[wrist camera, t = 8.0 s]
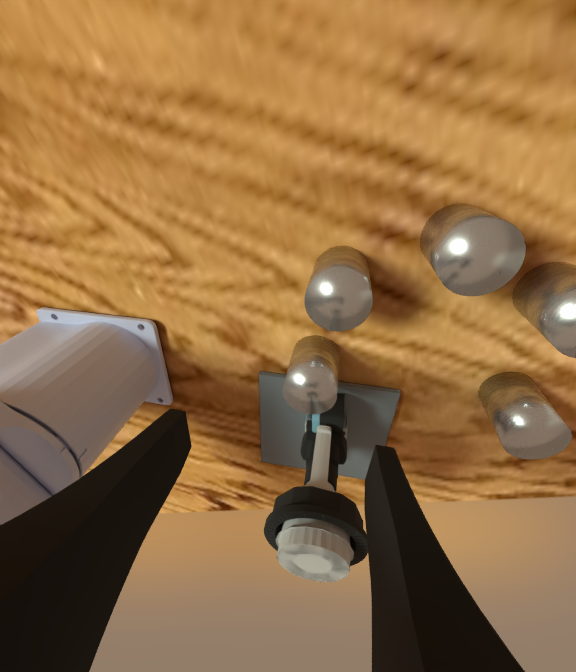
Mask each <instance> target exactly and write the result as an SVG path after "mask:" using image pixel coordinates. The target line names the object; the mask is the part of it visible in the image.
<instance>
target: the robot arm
mask: <svg viewBox="0 0 576 672" xmlns="http://www.w3.org/2000/svg"><path fill="white" fill-rule="evenodd" d="M37 315H38V318H39V320H40V322H39V323H37V324H35V325H33V326H32V327H30V328H28V329H26V330H24V331H23V332H21V333H19V334H17V335H16V336H14V337H12V338H10V339H8V340H7V341H5V342H3V343H1V344H0V672H89V670H90V668H91V665H92V662H93V660H94V657H95V654H96V652H97V649H98V647H99V644H100V641H101V639H102V636H103V634H104V631H105V629H106V626H107V624H108V621H109V619H110V616H111V614H112V611H113V609H114V606H115V604H116V602H117V599H118V597H119V595H120V592H121V590H122V587H123V585H124V583H125V580H126V578H127V576H128V573H129V571H130V569H131V567H132V564H133V562H134V560H135V558H136V555H137V553H138V551H139V549H140V547H141V544H142V542H143V540H144V539H145V537H146V535H147V533H148V531H149V529H150V527H151V525H152V523H153V522H154V520H155V518H156V516H157V514H158V513H159V511H160V509H161V507H162V506H163V504H164V502H165V500H166V498H167V497H168V495H169V493H170V491H171V489H172V487H173V486H174V484H175V482H176V480H177V478H178V477H179V475H180V473H181V471H182V468H183V466H184V464H185V461H186V459H187V456H188V454H189V451H190V449H191V441H190V435H189V429H188V424H187V418H186V412H185V411H182V410H176V409H169V410H168V411H167V412H165V413H164V414H163V415H162V416H161V417H159V418H158V419H157V420H156V421H154V422H153V423H152V424H151V425H150V426H148V427H147V428H146V429H145V430H144V431H142V432H141V433H140V434H139V435H137V436H136V437H135V438H134V439H132V440H131V441H130V442H129V443H127V444H126V445H125V446H123V447H122V448H121V449H120V450H118V451H117V452H116V453H114V454H113V455H112V456H110V457H109V458H108V459H106V460H105V461H104V462H102V463H101V464H99V465H98V466H97V467H95V468H94V469H93V470H91V471H90V472H88V473H87V474H85V473H86V471H87V470H88V469H89V468H90V467H91V465H92V464H93V463H94V462H95V460H96V459H97V458H98V457H99V456H100V454H101V453H102V452H103V451H104V449H105V448H106V447H107V446H108V445H109V443H110V442H111V441H112V440H113V438H114V437H115V436H116V435H117V434H118V432H119V431H120V430H121V429H122V428H123V426H124V425H125V424H126V423H127V421H128V420H129V419H130V418H131V417H132V415H133V414H134V413H135V412H136V410H137V409H138V408H139V407H140V406H141V404H142V403H143V402H149V403H156V404H162V405H171V403H172V402H173V396H172V392H171V387H170V383H169V378H168V374H167V370H166V365H165V361H164V356H163V352H162V348H161V343H160V339H159V334H158V330H157V326H156V324H155V323H154V322H153V321H152V320H148V319H139V318H131V317H122V316H113V315H105V314H96V313H88V312H79V311H70V310H62V309H53V308H44V307H43V308H40V309H38V310H37ZM141 324H142V325H143V326H144V327H142V326H141ZM84 474H85V475H84ZM83 475H84V476H83ZM365 520H366V532H367V543H368V554H369V566H370V577H371V593H372V672H525V671H524V670H523V669H522V667H521V666H520V665H519V663H518V662H517V661H516V659H515V658H514V657H513V655H512V654H511V652H510V651H509V650H508V648H507V647H506V645H505V644H504V642H503V641H502V640H501V638H500V637H499V635H498V634H497V633H496V631H495V630H494V628H493V627H492V625H491V624H490V623H489V621H488V620H487V618H486V617H485V616H484V614H483V613H482V611H481V610H480V608H479V607H478V605H477V604H476V602H475V601H474V599H473V598H472V596H471V595H470V593H469V592H468V590H467V589H466V587H465V585H464V584H463V582H462V581H461V579H460V578H459V576H458V574H457V573H456V571H455V569H454V568H453V566H452V565H451V563H450V561H449V560H448V558H447V556H446V554H445V553H444V551H443V549H442V548H441V546H440V544H439V542H438V540H437V538H436V537H435V535H434V533H433V531H432V529H431V527H430V526H429V524H428V522H427V520H426V518H425V516H424V514H423V512H422V510H421V508H420V506H419V504H418V502H417V500H416V498H415V496H414V493H413V491H412V489H411V487H410V485H409V482H408V480H407V478H406V476H405V473H404V471H403V469H402V466H401V464H400V461H399V459H398V456H397V453H396V450H395V449H394V448H392V447H387V446H381V445H375V448H374V451H373V455H372V458H371V461H370V465H369V468H368V471H367V475H366V478H365Z"/></svg>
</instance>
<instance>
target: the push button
mask: <svg viewBox="0 0 576 672" xmlns="http://www.w3.org/2000/svg"><path fill="white" fill-rule="evenodd" d="M344 401H345V394H337V400H336V402H335V404H334V406H333V407H332V408H331V409H329V410H328V411H326V412H323V413H320V414H312V420H309V414H307V415H306V420H305V433H304V435H303V439H302V444H301V456H302V458H303V460H306V476H305V482H304V486H301V487H294V488H292V489H290V490H289V491H287V492H285V493H284V494H282V495H280V496H278V497H277V498H276V500H275V505H274V509H273V512H272V513H270V515H269V516H268V517H267V519H266V523H265V527H264V534H265V537H266V539H267V541H268V542H269V544H270V545H271V546H272V547H273V548H274V549H275V550H277V551H278V553H277V559H278V561H279V563H280V564H281V566H282V567H284V568H285V569H287V570H288V571H289V572H291V573H293V574H295V575H297V576H300V577H302V578H305V579H310V580H313V581H320V582H324V581H327V582H331V581H337V580H339V579H343V578H345V577H346V576H347V574H348V573H349V571H350V566H352V565H354V564H357V563H359V562H360V561H362V560H363V559H364V558H365V557H366V555H367V553H368V543H367V535H366V533H365V531H364V529H363V520H362V518H361V516H360V513H359V511H358V509H357V506H356V504H355V503H354V502H353V501H351V500H350V499H348V498H347V497H345V496H344V495H342V494H340V493H337V492H336V487H337V478H338V464H340V465H341V464H342V465H343V464H344V463H345V462H346V459H347V440H346V439H347V420H348V415H346V427H343V426H344Z"/></svg>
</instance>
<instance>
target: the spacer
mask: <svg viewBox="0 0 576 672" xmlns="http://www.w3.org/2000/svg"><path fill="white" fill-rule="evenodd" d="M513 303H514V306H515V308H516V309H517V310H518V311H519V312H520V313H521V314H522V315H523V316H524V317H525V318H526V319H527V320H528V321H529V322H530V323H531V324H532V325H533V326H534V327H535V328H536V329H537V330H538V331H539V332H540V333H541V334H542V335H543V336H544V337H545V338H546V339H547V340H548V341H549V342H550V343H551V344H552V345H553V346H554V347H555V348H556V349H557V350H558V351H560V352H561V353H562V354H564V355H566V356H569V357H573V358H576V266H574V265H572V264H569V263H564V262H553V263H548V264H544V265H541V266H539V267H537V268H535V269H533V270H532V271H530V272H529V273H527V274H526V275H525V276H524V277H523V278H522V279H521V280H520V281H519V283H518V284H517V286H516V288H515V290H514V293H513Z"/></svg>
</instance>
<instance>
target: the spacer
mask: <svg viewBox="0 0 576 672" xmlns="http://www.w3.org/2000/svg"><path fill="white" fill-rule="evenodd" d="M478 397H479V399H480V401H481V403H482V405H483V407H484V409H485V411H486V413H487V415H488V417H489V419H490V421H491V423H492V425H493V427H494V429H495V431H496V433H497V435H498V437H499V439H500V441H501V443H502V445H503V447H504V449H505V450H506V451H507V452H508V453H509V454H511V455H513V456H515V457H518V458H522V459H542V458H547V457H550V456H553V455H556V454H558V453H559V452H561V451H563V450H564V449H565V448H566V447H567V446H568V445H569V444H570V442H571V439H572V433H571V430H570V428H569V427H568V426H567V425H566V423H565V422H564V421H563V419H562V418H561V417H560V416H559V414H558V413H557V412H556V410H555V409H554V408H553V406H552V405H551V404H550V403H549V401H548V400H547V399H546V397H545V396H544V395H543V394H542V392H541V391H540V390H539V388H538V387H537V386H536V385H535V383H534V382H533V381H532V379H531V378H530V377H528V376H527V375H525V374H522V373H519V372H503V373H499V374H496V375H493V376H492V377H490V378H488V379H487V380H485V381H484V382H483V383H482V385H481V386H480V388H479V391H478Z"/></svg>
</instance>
